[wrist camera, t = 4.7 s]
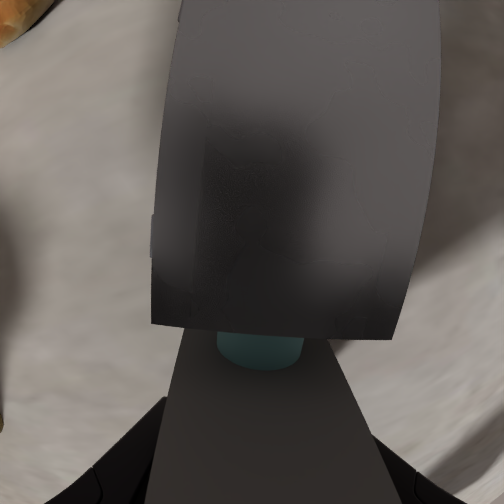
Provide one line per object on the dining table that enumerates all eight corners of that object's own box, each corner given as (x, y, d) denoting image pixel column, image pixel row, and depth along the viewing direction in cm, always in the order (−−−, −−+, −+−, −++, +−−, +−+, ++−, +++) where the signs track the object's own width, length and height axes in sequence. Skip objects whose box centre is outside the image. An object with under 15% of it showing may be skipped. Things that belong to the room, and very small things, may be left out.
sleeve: (386, 35, 8) (467, -16, 4) (356, 268, 10) (426, 339, 6) (189, 0, 8) (163, -87, 3) (157, 247, 10) (104, 316, 5)
